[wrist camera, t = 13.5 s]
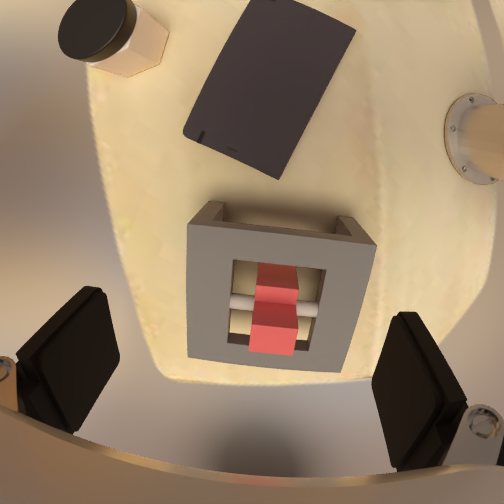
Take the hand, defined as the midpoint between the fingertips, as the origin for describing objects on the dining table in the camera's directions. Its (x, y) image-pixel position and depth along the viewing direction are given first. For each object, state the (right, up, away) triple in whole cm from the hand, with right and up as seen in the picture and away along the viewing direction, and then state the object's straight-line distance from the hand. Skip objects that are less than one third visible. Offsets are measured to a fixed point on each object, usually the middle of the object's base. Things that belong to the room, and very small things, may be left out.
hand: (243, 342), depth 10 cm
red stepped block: (+3, 0, +30) cm, 30 cm away
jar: (-14, +29, +22) cm, 39 cm away
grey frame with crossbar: (+3, +1, +31) cm, 32 cm away
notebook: (+2, +23, +24) cm, 33 cm away
